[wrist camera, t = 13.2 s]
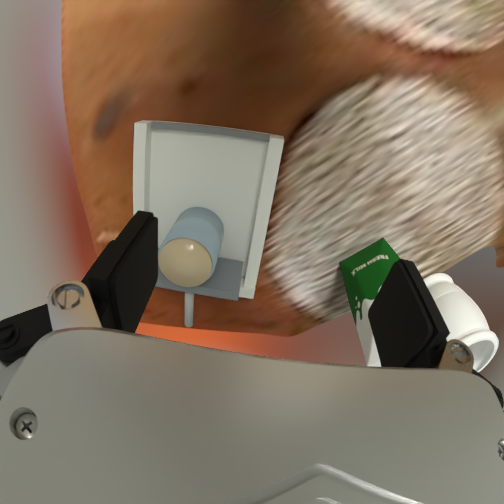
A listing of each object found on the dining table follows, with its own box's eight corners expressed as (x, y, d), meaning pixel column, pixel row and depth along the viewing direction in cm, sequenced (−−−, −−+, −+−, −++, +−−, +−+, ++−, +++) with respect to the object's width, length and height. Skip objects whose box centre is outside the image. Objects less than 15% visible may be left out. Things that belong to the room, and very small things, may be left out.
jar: (462, 295, 42) (500, 358, 30) (415, 326, 46) (443, 394, 34) (448, 254, 38) (497, 321, 26) (394, 290, 42) (427, 366, 30)
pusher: (152, 246, 39) (135, 274, 34) (243, 261, 40) (239, 293, 34) (154, 298, 44) (141, 328, 39) (235, 312, 45) (230, 344, 39)
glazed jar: (176, 203, 36) (155, 234, 29) (227, 210, 37) (216, 243, 30) (174, 247, 40) (156, 283, 33) (221, 255, 40) (211, 293, 33)
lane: (142, 119, 31) (132, 123, 29) (283, 136, 32) (284, 140, 29) (142, 266, 42) (135, 278, 40) (254, 285, 43) (253, 299, 40)
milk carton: (357, 301, 44) (389, 416, 27) (330, 260, 40) (362, 385, 23) (407, 273, 41) (461, 381, 24) (385, 227, 37) (452, 339, 20)
